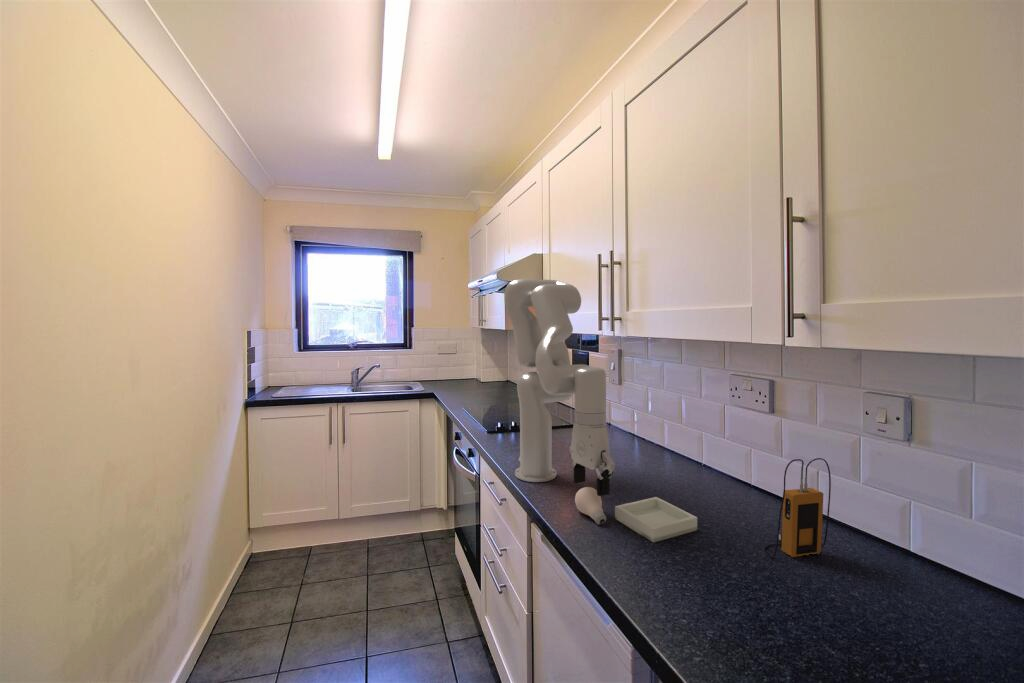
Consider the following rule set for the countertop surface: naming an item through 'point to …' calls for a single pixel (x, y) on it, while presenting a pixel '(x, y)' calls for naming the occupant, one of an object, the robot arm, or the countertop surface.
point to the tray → (656, 519)
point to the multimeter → (802, 518)
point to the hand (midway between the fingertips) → (590, 488)
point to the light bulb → (590, 504)
